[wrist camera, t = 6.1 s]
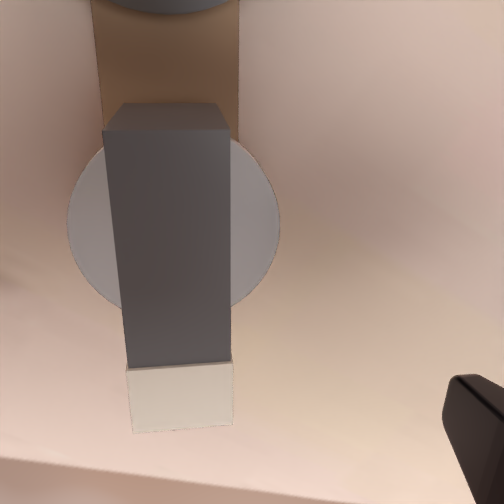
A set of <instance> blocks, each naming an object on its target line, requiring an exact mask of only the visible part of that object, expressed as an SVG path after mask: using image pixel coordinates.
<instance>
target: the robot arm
mask: <svg viewBox="0 0 504 504" xmlns="http://www.w3.org/2000/svg"><path fill="white" fill-rule="evenodd" d="M442 421H443V425H444V428H445V431H446V433H447V436H448V438H449V440H450V443H451V445H452V448H453V450H454V452H455V455H456V457H457V459H458V462H459V464H460V467H461V469H462V471H463V474H464V476H465V478H466V481H467V483H468V486H469V488H470V490H471V493H472V495H473V497H474V500H475V502H476V504H504V388H502V387H501V386H499V385H497V384H495V383H493V382H491V381H489V380H488V379H486V378H484V377H482V376H480V375H477V374H465V375H456V376H453V377H452V378H451V380H450V382H449V385H448V390H447V394H446V398H445V402H444V407H443V411H442Z"/></svg>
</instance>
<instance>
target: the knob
mask: <svg viewBox="0 0 504 504" xmlns="http://www.w3.org/2000/svg"><path fill="white" fill-rule="evenodd" d="M102 135H103V144H104V146H103V147H102V148H101V149H100V150H99V151H98V152H97V153H96V154H95V155H94V157H93V158H92V159H91V160H90V162H89V163H88V164H87V166H86V167H85V169H84V170H83V172H82V174H81V175H80V177H79V179H78V181H77V182H76V184H75V187H74V189H73V192H72V195H71V198H70V202H69V207H68V214H67V231H68V239H69V243H70V248H71V251H72V254H73V256H74V259H75V261H76V263H77V265H78V267H79V269H80V270H81V272H82V274H83V275H84V276H85V278H86V279H87V281H88V282H89V283H90V284H91V285H92V286H93V287H94V288H95V290H96V291H97V292H98V293H100V294H101V295H102V296H103V297H104V298H106V299H107V300H108V301H110V302H111V303H113V304H114V305H116V306H118V307H119V308H121V309H122V316H123V325H124V334H125V343H126V352H127V367H126V377H127V386H128V395H129V404H130V413H131V421H132V430H133V434H136V433H147V432H158V431H169V430H180V429H191V428H203V427H214V426H225V425H233V360H232V354H231V306H233V305H234V304H236V303H238V302H239V301H241V300H242V299H243V298H244V297H245V296H247V295H248V294H249V293H250V292H251V291H252V290H253V289H254V288H255V287H256V286H257V285H258V284H259V282H260V281H261V280H262V278H263V277H264V276H265V274H266V272H267V270H268V269H269V267H270V265H271V263H272V260H273V258H274V256H275V253H276V249H277V245H278V241H279V233H280V215H279V209H278V204H277V200H276V197H275V194H274V191H273V189H272V187H271V185H270V183H269V180H268V179H267V177H266V175H265V174H264V172H263V170H262V169H261V167H260V166H259V164H258V163H257V161H256V160H255V159H254V158H253V156H252V155H251V154H250V153H249V152H248V151H247V150H246V149H245V148H244V147H243V146H242V145H241V144H239V143H238V142H237V141H236V140H234V139H233V138H231V137H230V128H229V126H228V124H227V122H226V120H225V119H224V117H223V115H222V113H221V111H220V109H219V107H218V106H217V104H216V103H123V104H122V106H121V107H120V108H119V109H118V111H117V112H116V113H115V115H114V116H113V117H112V118H111V120H110V121H109V122H108V124H107V125H106V126H105V127H104V129H103V130H102Z"/></svg>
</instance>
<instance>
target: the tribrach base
mask: <svg viewBox="0 0 504 504" xmlns="http://www.w3.org/2000/svg"><path fill="white" fill-rule="evenodd" d="M91 9H92V19H93V28H94V37H95V46H96V56H97V65H98V74H99V83H100V92H101V102H102V111H103V120H104V127H105V126H106V125H107V124H108V122H109V121H110V120H111V118H112V117H113V116H114V115H115V113H116V112H117V111H118V109H119V108H120V107H121V106H122V104H123V103H216V104H217V106H218V107H219V109H220V111H221V113H222V115H223V117H224V119H225V120H226V122H227V124H228V126H229V128H230V137H231V138H233V139H234V140H236V141H237V142H238V74H239V0H91Z"/></svg>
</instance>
